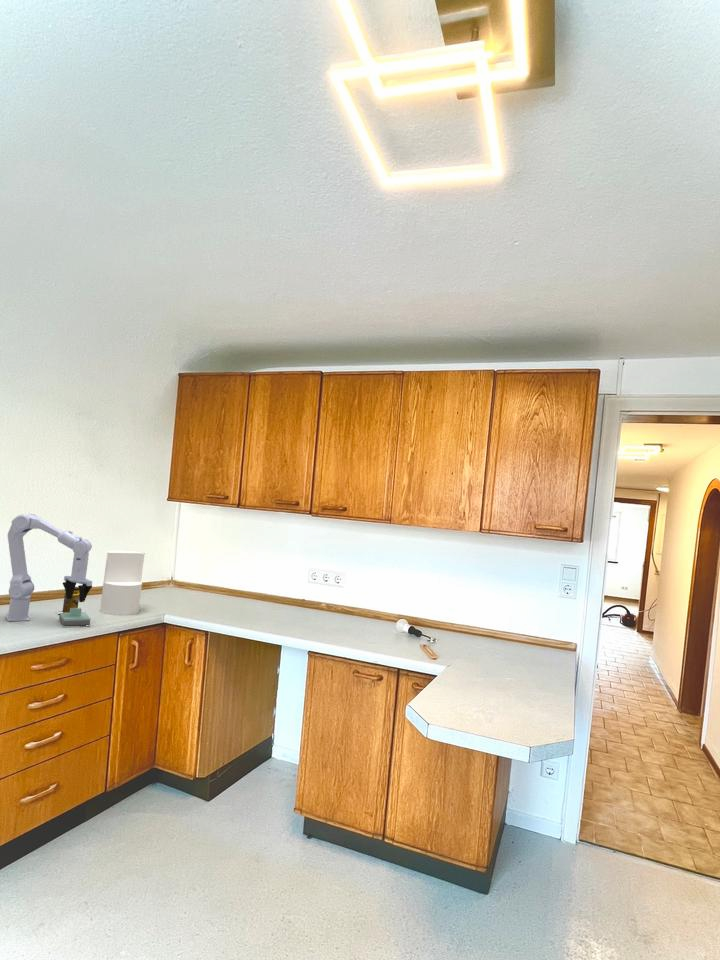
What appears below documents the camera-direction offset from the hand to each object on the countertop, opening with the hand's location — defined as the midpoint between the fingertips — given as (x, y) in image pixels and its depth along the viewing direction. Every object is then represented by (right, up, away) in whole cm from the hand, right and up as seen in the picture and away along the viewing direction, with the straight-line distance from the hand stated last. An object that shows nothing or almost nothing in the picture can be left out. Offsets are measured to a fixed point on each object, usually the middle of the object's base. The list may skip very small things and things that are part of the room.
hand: (75, 600), depth 238 cm
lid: (-1, -8, +1) cm, 8 cm away
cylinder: (+5, -12, +31) cm, 34 cm away
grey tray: (-1, -10, +1) cm, 10 cm away
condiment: (-11, -10, +15) cm, 21 cm away
